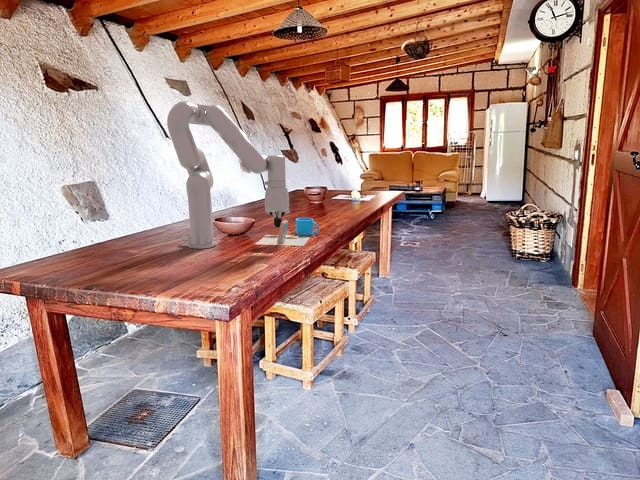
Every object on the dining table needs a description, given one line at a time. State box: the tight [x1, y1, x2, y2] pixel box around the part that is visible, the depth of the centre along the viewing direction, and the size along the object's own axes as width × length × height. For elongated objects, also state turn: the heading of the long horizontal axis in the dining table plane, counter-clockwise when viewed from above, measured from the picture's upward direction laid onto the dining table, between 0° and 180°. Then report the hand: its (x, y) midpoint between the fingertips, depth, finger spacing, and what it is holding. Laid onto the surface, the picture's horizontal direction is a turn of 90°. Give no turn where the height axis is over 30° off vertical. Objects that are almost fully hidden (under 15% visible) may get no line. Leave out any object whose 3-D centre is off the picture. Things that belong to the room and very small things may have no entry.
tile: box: [277, 219, 289, 244], centre depth 203 cm, size 2×7×9 cm, turn 172°
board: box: [255, 236, 311, 247], centre depth 207 cm, size 21×18×1 cm
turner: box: [263, 234, 300, 239], centre depth 214 cm, size 16×5×1 cm, turn 82°
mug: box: [295, 217, 321, 236], centre depth 221 cm, size 12×8×8 cm
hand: (278, 226), depth 203 cm, fingers closed
